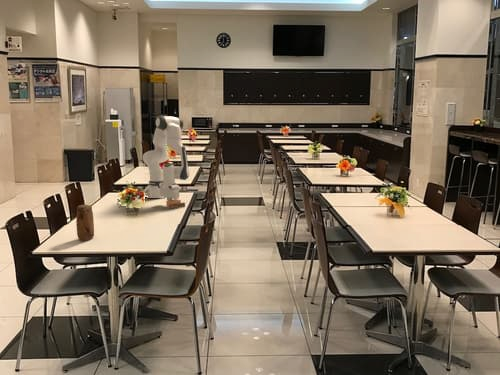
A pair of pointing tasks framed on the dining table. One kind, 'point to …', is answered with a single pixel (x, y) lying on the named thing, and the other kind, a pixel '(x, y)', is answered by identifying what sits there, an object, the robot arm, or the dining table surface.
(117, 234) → the dining table surface
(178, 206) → the walnut board
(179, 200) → the orange block
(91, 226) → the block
